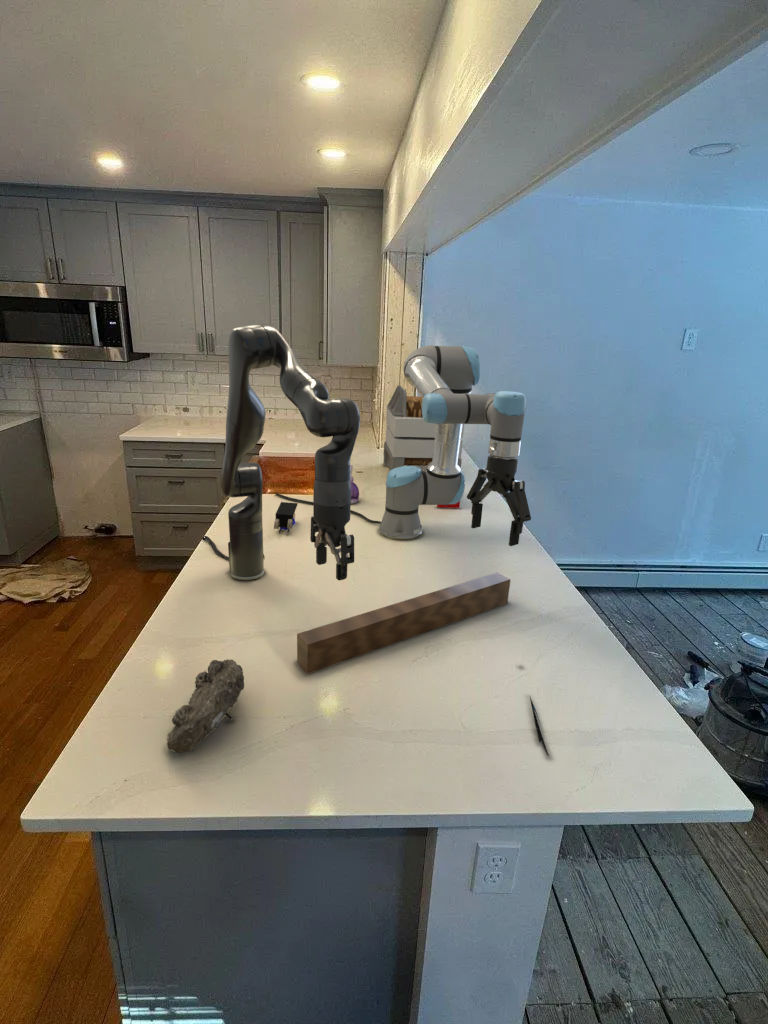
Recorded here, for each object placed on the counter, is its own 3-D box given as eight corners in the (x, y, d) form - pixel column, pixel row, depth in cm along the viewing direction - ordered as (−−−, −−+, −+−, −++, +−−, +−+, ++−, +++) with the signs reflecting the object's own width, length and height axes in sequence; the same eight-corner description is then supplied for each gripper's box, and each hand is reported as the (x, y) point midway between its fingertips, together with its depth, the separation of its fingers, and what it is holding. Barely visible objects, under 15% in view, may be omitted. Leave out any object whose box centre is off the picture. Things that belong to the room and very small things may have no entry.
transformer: (382, 463, 289) (386, 382, 275) (445, 464, 293) (451, 384, 279) (390, 482, 257) (394, 392, 243) (460, 483, 261) (468, 394, 247)
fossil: (192, 660, 117) (244, 628, 112) (224, 691, 120) (276, 661, 115) (142, 746, 98) (202, 712, 93) (182, 779, 101) (242, 748, 96)
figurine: (342, 506, 224) (343, 469, 219) (333, 498, 233) (333, 463, 228) (364, 503, 228) (365, 467, 223) (353, 496, 237) (354, 461, 232)
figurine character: (293, 539, 194) (298, 519, 208) (292, 519, 191) (298, 500, 204) (273, 538, 194) (280, 518, 207) (272, 519, 191) (279, 500, 204)
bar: (494, 595, 159) (497, 572, 157) (507, 603, 155) (510, 579, 153) (297, 662, 126) (296, 633, 123) (307, 674, 122) (307, 644, 119)
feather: (521, 671, 128) (526, 665, 127) (548, 760, 101) (555, 753, 101) (514, 667, 128) (520, 661, 127) (540, 755, 101) (547, 748, 101)
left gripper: (299, 491, 118) (299, 562, 123) (333, 512, 107) (332, 589, 112) (330, 486, 122) (330, 555, 127) (366, 506, 111) (364, 580, 117)
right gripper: (458, 446, 147) (451, 522, 154) (531, 470, 128) (520, 556, 135) (479, 443, 151) (471, 518, 158) (553, 466, 132) (541, 549, 139)
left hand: (331, 571), depth 120 cm, fingers open, 8 cm apart
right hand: (493, 535), depth 147 cm, fingers open, 13 cm apart
